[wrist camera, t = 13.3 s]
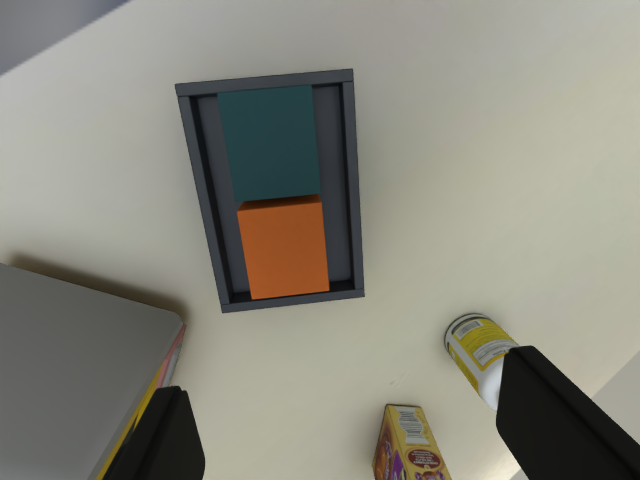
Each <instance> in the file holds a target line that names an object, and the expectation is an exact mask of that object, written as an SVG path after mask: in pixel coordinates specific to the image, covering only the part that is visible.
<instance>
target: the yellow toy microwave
mask: <svg viewBox="0 0 640 480" xmlns="http://www.w3.org/2000/svg"><path fill="white" fill-rule="evenodd" d="M185 329H186V325H185V324H184V323H183V322H182V320H181V318H180V317H179V316H178V314H177V313H174V312H171V311H167V310H164V309H160V308H157V307H153V306H150V305H146V304H143V303H139V302H135V301H132V300H128V299H125V298H121V297H118V296H114V295H111V294H107V293H104V292H100V291H97V290H93V289H90V288H86V287H83V286H79V285H76V284H72V283H69V282H65V281H62V280H58V279H55V278H51V277H48V276H44V275H41V274H37V273H34V272H30V271H27V270H23V269H20V268H16V267H13V266H9V265H6V264H2V263H0V480H102V478H103V477H104V475H105V473H106V471H107V469H108V467H109V466H110V464H111V462H112V460H113V458H114V456H115V454H116V453H117V451H118V450H119V448H120V447H121V446H123V445H124V444H126V443H128V441H129V439H130V437H131V435H132V433H133V431H134V429H135V427H136V426H137V424H138V422H139V420H140V418H141V416H142V414H143V412H144V410H145V408H146V407H147V405H148V403H149V401H150V399H151V397H152V395H153V393H154V392H155V390H156V389H157V388H163V387H168V385H169V383H170V380H171V378H172V375H173V372H174V369H175V366H176V363H177V360H178V357H179V353H180V350H181V347H182V344H181V341H182V338H183V335H184V332H185Z"/></svg>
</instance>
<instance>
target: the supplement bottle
mask: <svg viewBox="0 0 640 480" xmlns="http://www.w3.org/2000/svg"><path fill="white" fill-rule="evenodd" d="M445 344H446V348H447V351H448V352H449V354H450V355H451V357H452V358H453V360H454V361H455V362H456V364H457V365H458V367H459V368H460V369H461V371H462V372H463V374H464V375H465V376H466V378H467V379H468V381H469V382H470V383H471V385H472V386H473V388H474V389H475V390H476V392H477V393H478V395H479V396H480V397H481V399H482V400H483V401H484V402H485V404H486V405H487V406H489V407H490V408H491V409H493V410H495V411H497V407H498V399H499V392H500V384H501V376H502V368H503V360H504V355H505V354H507V353H508V352H509V349H510V348H513V347H521V346H519V345H518V344H517V343H516V342H515V341H514V340H513V339H512V338H511V337H510V336H509V335H508V334H507V333H506V332H504V331H503V330H502V329H501V328H500V327H499V326H498V325H497V324H496V323H495V322H493V321H492V320H491V319H490V318H488V317H486V316H483V315H478V314H472V315H467V316H464V317H462V318H460V319H458V320H457V321H456V322H454V323H453V324H452V326H451V327H450V328H449V330H448V332H447V334H446V339H445Z"/></svg>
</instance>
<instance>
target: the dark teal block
mask: <svg viewBox="0 0 640 480" xmlns="http://www.w3.org/2000/svg"><path fill="white" fill-rule="evenodd" d="M217 99H218V105H219V110H220V116H221V122H222V128H223V133H224V139H225V145H226V151H227V157H228V162H229V168H230V174H231V180H232V185H233V191H234V197H235V202H244V201H253V200H263V199H273V198H283V197H293V196H302V195H312V194H321V185H320V174H319V162H318V151H317V140H316V128H315V117H314V106H313V94H312V85H302V86H290V87H279V88H267V89H256V90H245V91H233V92H222V93H217Z"/></svg>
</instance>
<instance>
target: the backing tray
mask: <svg viewBox="0 0 640 480" xmlns="http://www.w3.org/2000/svg"><path fill="white" fill-rule="evenodd" d="M353 80H354V79H353V69H342V70H330V71H319V72H307V73H296V74H284V75H272V76H261V77H249V78H238V79H226V80H214V81H203V82H191V83H180V84H175V89H176V94H177V97H178V103H179V108H180V112H181V117H182V122H183V127H184V132H185V136H186V141H187V146H188V151H189V156H190V160H191V165H192V170H193V175H194V180H195V184H196V189H197V194H198V199H199V204H200V208H201V213H202V218H203V223H204V228H205V232H206V237H207V242H208V247H209V252H210V256H211V261H212V266H213V271H214V276H215V280H216V285H217V290H218V295H219V300H220V304H221V310H222V313H230V312H238V311H247V310H255V309H264V308H273V307H281V306H290V305H298V304H307V303H316V302H324V301H333V300H341V299H350V298H359V297H365V294H364V275H363V255H362V236H361V216H360V197H359V177H358V157H357V138H356V118H355V99H354V82H353ZM302 85H312V94H313V106H314V117H315V128H316V140H317V151H318V162H319V174H320V185H321V194H318V195H319V197H320V200H321V203H322V212H323V223H324V234H325V246H326V257H327V268H328V279H329V291H322V292H314V293H305V294H296V295H288V296H279V297H270V298H262V299H252V297H251V291H250V286H249V280H248V274H247V268H246V262H245V257H244V251H243V245H242V239H241V234H240V228H239V222H238V216H237V210H238V209H239V207H240V206H241V205H242V203H243V202H235V197H234V191H233V185H232V180H231V174H230V168H229V162H228V157H227V151H226V145H225V139H224V133H223V128H222V122H221V116H220V110H219V105H218V99H217V93H222V92H233V91H245V90H256V89H267V88H279V87H290V86H302Z"/></svg>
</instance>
